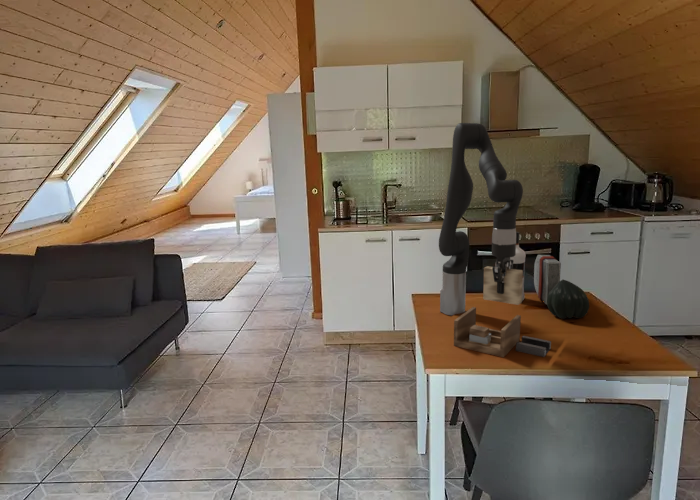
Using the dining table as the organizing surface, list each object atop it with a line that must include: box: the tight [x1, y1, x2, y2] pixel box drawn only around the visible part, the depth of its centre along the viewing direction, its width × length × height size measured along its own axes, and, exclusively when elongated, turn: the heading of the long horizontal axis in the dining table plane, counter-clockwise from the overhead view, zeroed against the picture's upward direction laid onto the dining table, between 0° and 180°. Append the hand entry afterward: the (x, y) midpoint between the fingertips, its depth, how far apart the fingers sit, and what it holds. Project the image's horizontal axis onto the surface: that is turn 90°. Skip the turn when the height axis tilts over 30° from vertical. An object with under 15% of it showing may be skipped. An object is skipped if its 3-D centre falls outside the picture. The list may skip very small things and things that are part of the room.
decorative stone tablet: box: [533, 254, 562, 305], centre depth 211 cm, size 19×6×30 cm
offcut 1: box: [470, 324, 490, 338], centre depth 161 cm, size 5×4×2 cm
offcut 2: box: [469, 334, 491, 344], centre depth 161 cm, size 6×4×2 cm, turn 58°
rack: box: [453, 306, 522, 358], centre depth 164 cm, size 17×16×10 cm
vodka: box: [510, 231, 527, 301], centre depth 209 cm, size 9×9×30 cm
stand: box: [515, 335, 552, 358], centre depth 158 cm, size 9×8×4 cm
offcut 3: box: [469, 341, 490, 347], centre depth 162 cm, size 6×4×2 cm, turn 54°
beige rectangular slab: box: [482, 265, 523, 306], centre depth 162 cm, size 12×3×11 cm, turn 53°
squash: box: [546, 279, 590, 319], centre depth 189 cm, size 14×15×15 cm
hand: (502, 291), depth 162 cm, fingers closed on beige rectangular slab, 3 cm apart
